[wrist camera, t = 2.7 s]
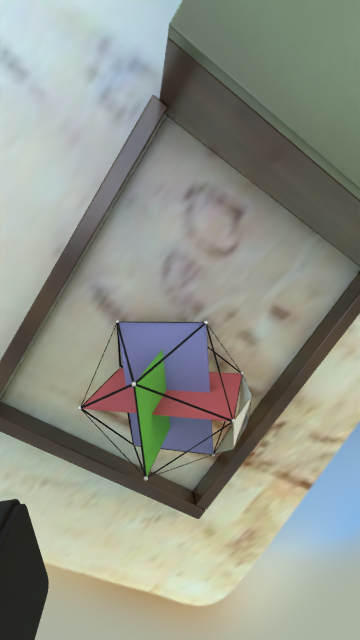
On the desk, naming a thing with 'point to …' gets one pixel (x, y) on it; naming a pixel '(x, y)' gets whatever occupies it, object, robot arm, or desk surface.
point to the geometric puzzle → (171, 391)
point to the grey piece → (254, 163)
